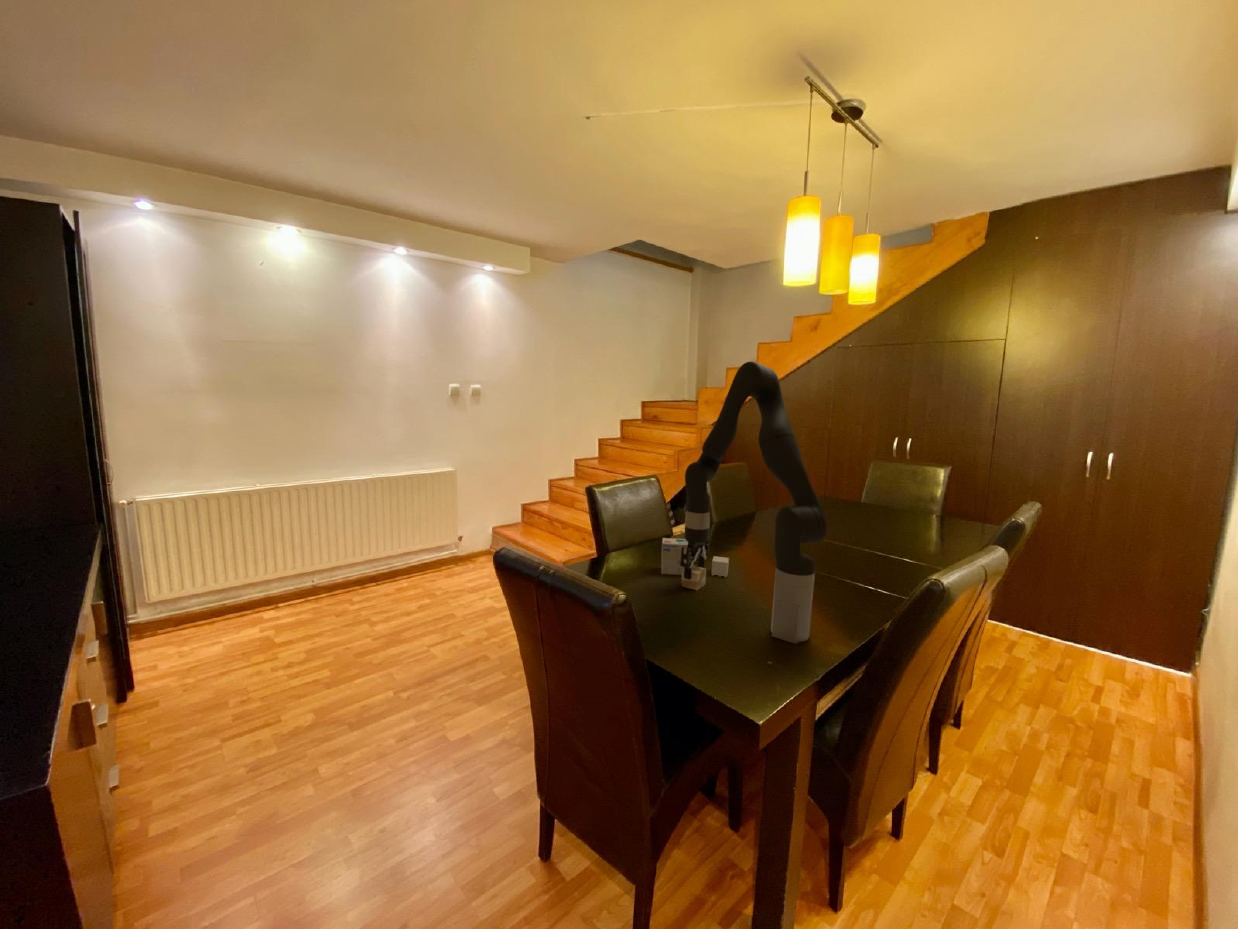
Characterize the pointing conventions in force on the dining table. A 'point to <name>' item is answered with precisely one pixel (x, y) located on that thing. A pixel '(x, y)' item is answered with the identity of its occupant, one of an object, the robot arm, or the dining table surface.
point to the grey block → (720, 566)
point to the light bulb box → (672, 556)
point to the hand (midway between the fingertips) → (694, 574)
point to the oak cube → (694, 578)
